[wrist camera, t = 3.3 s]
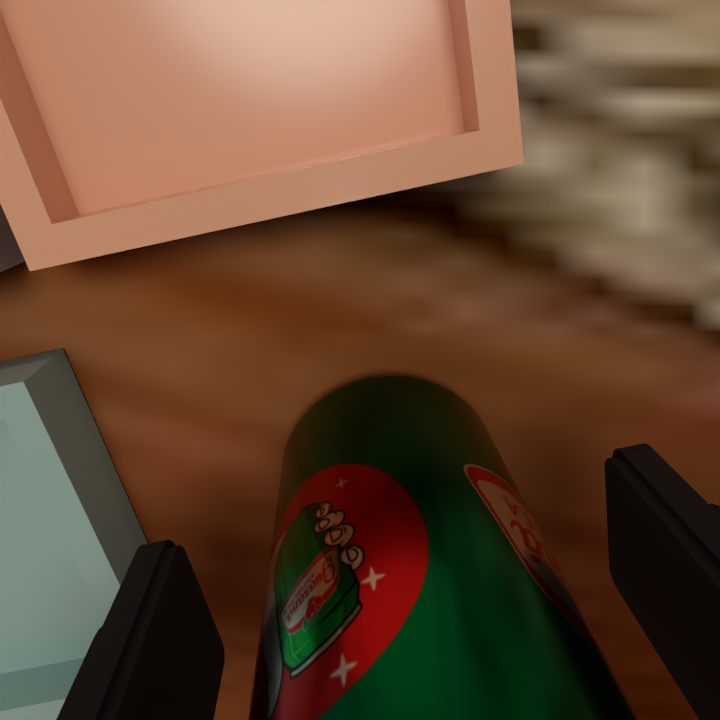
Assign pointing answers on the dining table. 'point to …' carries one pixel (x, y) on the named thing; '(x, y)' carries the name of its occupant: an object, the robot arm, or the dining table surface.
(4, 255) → the tray slate
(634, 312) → the dining table surface
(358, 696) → the soda can
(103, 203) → the tray terracotta
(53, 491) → the tray teal
